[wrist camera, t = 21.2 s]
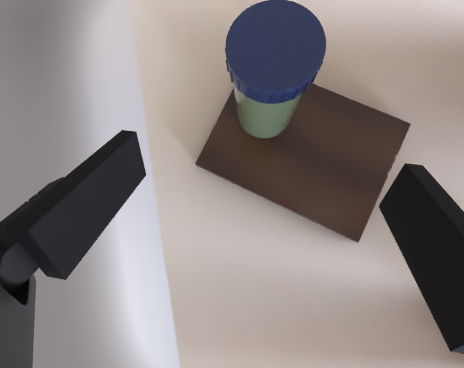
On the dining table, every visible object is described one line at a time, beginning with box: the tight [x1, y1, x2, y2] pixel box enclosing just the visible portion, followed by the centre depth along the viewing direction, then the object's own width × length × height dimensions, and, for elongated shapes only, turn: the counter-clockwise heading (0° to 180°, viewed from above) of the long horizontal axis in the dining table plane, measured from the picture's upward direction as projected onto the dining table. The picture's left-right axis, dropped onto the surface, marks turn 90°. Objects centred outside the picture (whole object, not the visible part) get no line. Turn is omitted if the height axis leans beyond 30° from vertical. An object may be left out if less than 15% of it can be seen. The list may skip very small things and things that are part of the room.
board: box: [196, 84, 410, 242], centre depth 30 cm, size 16×22×1 cm
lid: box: [225, 0, 326, 104], centre depth 19 cm, size 8×8×2 cm
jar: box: [233, 83, 303, 138], centre depth 24 cm, size 7×7×12 cm
